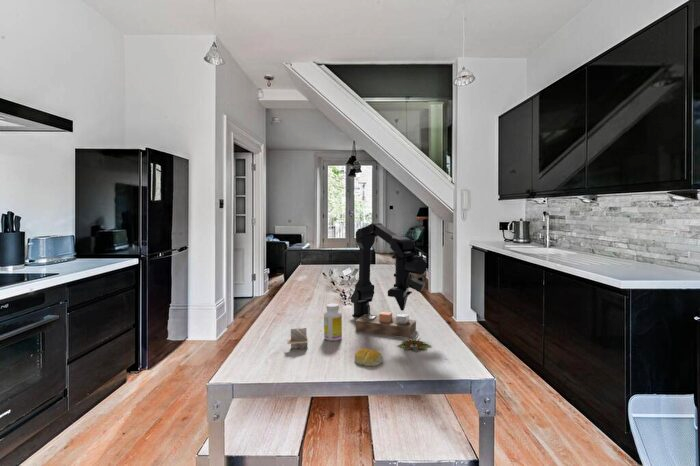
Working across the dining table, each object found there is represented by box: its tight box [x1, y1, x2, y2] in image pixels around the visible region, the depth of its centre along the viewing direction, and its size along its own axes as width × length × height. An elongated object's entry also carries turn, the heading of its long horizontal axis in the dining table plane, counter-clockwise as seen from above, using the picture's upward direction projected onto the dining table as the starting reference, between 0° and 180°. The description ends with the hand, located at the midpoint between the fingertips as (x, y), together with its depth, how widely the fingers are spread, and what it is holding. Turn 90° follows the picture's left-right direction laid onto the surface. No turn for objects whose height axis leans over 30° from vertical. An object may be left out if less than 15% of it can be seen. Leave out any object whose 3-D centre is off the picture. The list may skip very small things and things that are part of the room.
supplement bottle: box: [323, 303, 343, 342], centre depth 146 cm, size 7×7×13 cm
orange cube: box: [378, 311, 393, 323], centre depth 155 cm, size 4×4×4 cm
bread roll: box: [354, 348, 384, 367], centre depth 125 cm, size 8×9×4 cm
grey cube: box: [363, 314, 376, 321], centre depth 158 cm, size 4×4×4 cm
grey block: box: [395, 313, 410, 325], centre depth 152 cm, size 4×4×4 cm
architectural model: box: [287, 327, 309, 350], centre depth 135 cm, size 3×7×7 cm, turn 100°
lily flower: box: [397, 334, 432, 353], centre depth 138 cm, size 12×12×5 cm
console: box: [355, 314, 417, 339], centre depth 155 cm, size 22×10×4 cm, turn 65°
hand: (402, 310), depth 152 cm, fingers closed
